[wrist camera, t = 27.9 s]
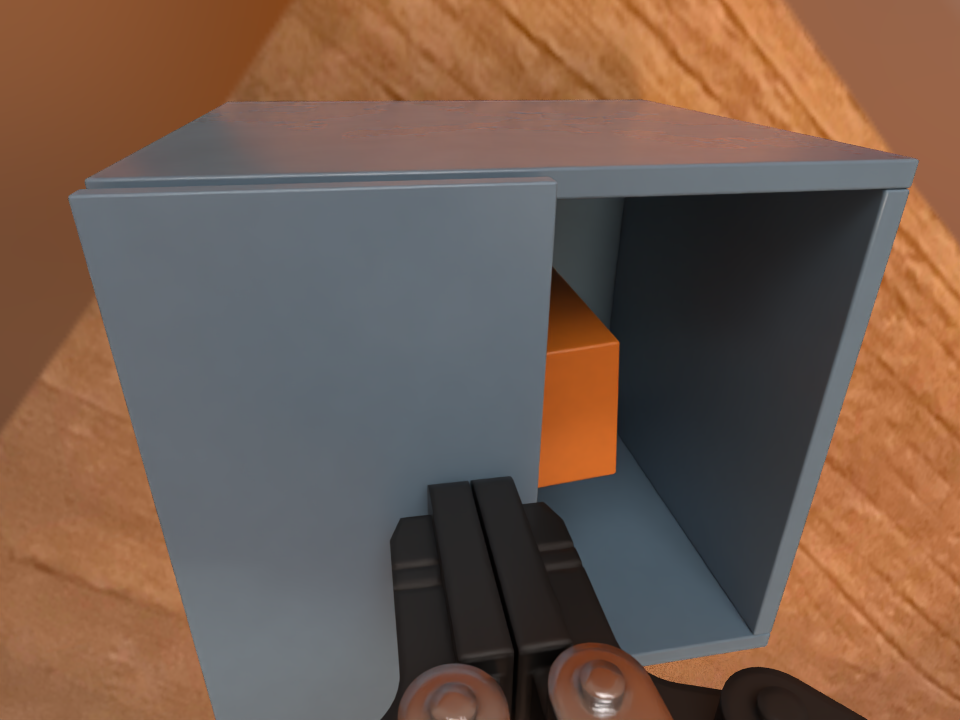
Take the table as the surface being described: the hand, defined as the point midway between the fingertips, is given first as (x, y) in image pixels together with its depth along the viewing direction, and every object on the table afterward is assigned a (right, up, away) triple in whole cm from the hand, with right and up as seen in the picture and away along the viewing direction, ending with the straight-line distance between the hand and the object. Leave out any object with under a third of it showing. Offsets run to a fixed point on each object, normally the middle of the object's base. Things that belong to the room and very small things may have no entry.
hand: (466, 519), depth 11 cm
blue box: (-1, +6, +11) cm, 12 cm away
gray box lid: (-2, 0, 0) cm, 2 cm away
